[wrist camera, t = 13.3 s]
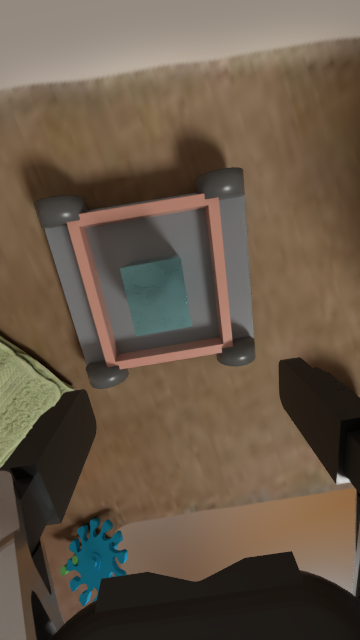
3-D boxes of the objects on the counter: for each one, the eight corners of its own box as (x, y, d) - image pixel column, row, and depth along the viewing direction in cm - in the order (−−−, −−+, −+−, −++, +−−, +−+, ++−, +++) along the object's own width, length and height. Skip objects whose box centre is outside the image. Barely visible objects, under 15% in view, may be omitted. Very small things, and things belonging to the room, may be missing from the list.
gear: (119, 515, 36) (126, 609, 32) (137, 504, 41) (146, 583, 37) (57, 526, 38) (56, 616, 34) (82, 514, 43) (84, 590, 39)
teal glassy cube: (177, 254, 25) (180, 257, 20) (186, 308, 27) (191, 326, 21) (130, 262, 25) (119, 268, 20) (142, 316, 27) (136, 336, 21)
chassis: (238, 177, 25) (253, 163, 21) (250, 345, 31) (263, 361, 26) (45, 209, 25) (20, 202, 20) (94, 371, 30) (82, 392, 26)
